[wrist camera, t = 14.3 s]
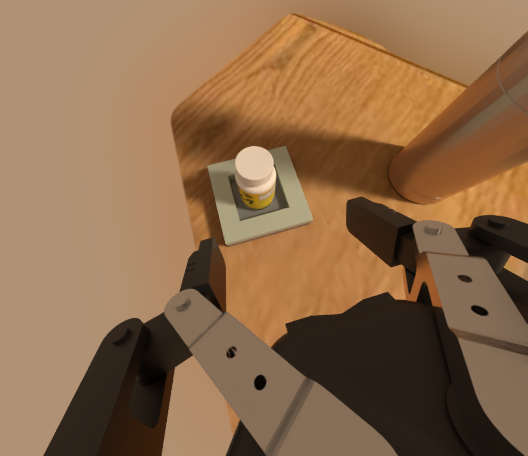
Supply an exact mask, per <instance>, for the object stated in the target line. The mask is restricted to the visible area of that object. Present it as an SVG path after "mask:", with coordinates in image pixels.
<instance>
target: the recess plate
mask: <svg viewBox="0 0 528 456" xmlns="http://www.w3.org/2000/svg"><path fill="white" fill-rule="evenodd" d="M267 151H268V152H269V153H270V154H271V155H272V158H273V163H274V168H275V171H276V184H275V195H274V200H273V202H272V204H271V205H270V206H269V207H268V208H266V209H264V210H261V211H254V210H251V209H249V208H248V207H247V206H245V204H244V203H243V201H242V198H241V195H240V192H239V189H238V186H237V183H236V180H235V171H236V168H235V159H232V160H228V161H224V162H220V163H216V164H212V165H208V166H207V168H208V172H209V176H210V180H211V185H212V189H213V193H214V197H215V201H216V206H217V210H218V214H219V218H220V223H221V227H222V231H223V235H224V240H225V244H226V245H227V246H228V247H230V246H234V245H237V244H241V243H244V242H248V241H251V240H255V239H258V238H262V237H265V236H269V235H272V234H276V233H279V232H283V231H287V230H290V229H294V228H297V227H301V226H304V225H308V224H310V223H311V222H312V220H313V217H312V214H311V212H310V209H309V206H308V204H307V201H306V198H305V196H304V193H303V190H302V188H301V185H300V182H299V180H298V177H297V174H296V172H295V169H294V166H293V164H292V161H291V158H290V156H289V153H288V150H287V148H286V146H282V147H279V148H275V149H271V150H267Z"/></svg>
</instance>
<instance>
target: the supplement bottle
mask: <svg viewBox="0 0 528 456" xmlns="http://www.w3.org/2000/svg"><path fill="white" fill-rule="evenodd" d="M235 168H236V171H235V180H236V183H237V186H238V189H239V192H240V195H241V198H242V201H243V203H244V204H245V206H247V207H248V208H249V209H251V210H254V211H261V210H264V209H266V208H268V207H269V206H270V205H271V204H272V202H273V200H274V195H275V184H276V171H275V168H274V163H273V158H272V155H271V154H270V153H269V152H268V151H267V150H266V149H264V148H262V147H258V146H251V147H247V148H245V149H243V150H242V151H240V152H239V153H238V155H237V157H236V159H235Z"/></svg>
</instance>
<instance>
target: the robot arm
mask: <svg viewBox="0 0 528 456" xmlns="http://www.w3.org/2000/svg"><path fill="white" fill-rule="evenodd" d="M526 162H528V31H527V32H526V33H525V34H524V35H523V36H522V37H521V38H520V39H519V40H517V42H515V44H513V45H512V46H511V47H510V48H509V49H508V50H507V51H506V52H505V53H504V54H503V55H502V56H501V57H500V58H499V59H498V60H497V61H496V62H494V63H493V64H492V65H491V66H490V67H489V68H488V69H487V70H486V71H485V72H484V73H483V74H482V75H481V76H480V77H479V78H478V79H477V80H475V81H474V82H473V83H472V84H471V85H470V86H469V87H468V88H467V89H466V90H465V91H464V92H463V93H462V94H461V95H460V96H459V97H457V98H456V99H455V100H454V101H453V102H452V103H451V104H450V105H449V106H448V107H447V108H446V109H445V110H444V111H443V112H442V113H441V114H439V115H438V116H437V117H436V118H435V119H434V120H433V121H432V122H431V123H430V124H429V125H428V126H427V127H426V128H425V129H424V130H423V131H422V132H420V133H419V134H418V135H417V136H416V137H415V138H414V139H413V140H412V141H411V142H410V143H409V144H408V145H407V146H406V147H405V148H404V149H403V150H402V151H400V152H399V153H398V154H397V155H396V156H395V157H394V158H393V159H392V161H391V163H390V165H389V171H388V174H389V179H390V181H391V184H392V186H393V187H394V188H395V190H396V191H397V192H398V193H399V194H400V195H401V196H403V197H404V198H406V199H408V200H410V201H412V202H415V203H419V204H433V203H436V202H439V201H441V200H443V199H445V198H448V197H450V196H452V195H454V194H457V193H459V192H461V191H463V190H466V189H468V188H470V187H473V186H475V185H477V184H479V183H482V182H484V181H486V180H488V179H491V178H493V177H495V176H497V175H500V174H502V173H504V172H506V171H508V170H511V169H513V168H515V167H517V166H520V165H522V164H524V163H526ZM346 225H347V229H348V231H349V232H350V233H351V234H352V235H353V236H355V237H356V238H357V239H358V240H359V241H360V242H362V243H363V244H364V245H365V246H366V247H367V248H369V249H370V250H371V251H372V252H373V253H374V254H376V255H377V256H378V257H379V258H380V259H381V260H383V261H384V262H385V263H386V264H387V265H388V266H390V267H394V266H397V265H401V264H402V265H403V270H402V273H403V280H404V287H405V295H406V300H395V299H394V298H393V297H392V296H391V295H390V294H389V293H388V292H386V293H383V294H379V295H376V296H373V297H370V298H367V299H363V300H362V301H360V302H359V303H357V304H356V305H354V306H353V307H351V308H350V309H348V310H347V311H345V312H344V313H342V314H334V315H317V316H309V317H306V318H303V319H299V320H296V321H293V322H290V323H286V324H285V325H286V328H287V333H286V334H284V335H283V336H282V337H280V338H279V339H278V340H277V341H276V342H275V343H274V344H273V346H272V347H271V348H270V347H269V346H268V345H267V344H265V343H264V342H263V341H262V340H261V339H260V338H258V337H257V336H256V335H255V334H254V333H252V332H251V331H250V330H249V329H248V328H246V327H245V326H244V325H243V324H242V323H241V322H239V321H238V320H237V319H236V318H235V317H233V316H232V315H231V314H230V313H228V312H227V311H226V266H225V262H224V258H223V256H222V254H221V251H220V249H219V246H218V244H217V242H216V239H215V238H214V237H213V238H209V239H206V240H202V241H201V242H200V246H199V250H198V251H195V252H193V253H192V255H191V256H190V257H189V259H188V263H187V267H186V270H185V273H184V277H183V281H182V285H181V289H180V292H179V293H178V294H176V295H175V296H173V297H172V298H171V299H170V301H169V302H168V303H167V305H166V307H165V310H164V312H163V313H162V314H160V315H159V316H157V317H155V318H153V319H151V320H149V321H148V322H146V323H143V322H142V321H141V320H140V319H138V318H131V319H128V320H126V321H124V322H122V323H120V324H119V325H117V326H116V327H115V328H113V329H112V330H111V331H110V332H109V333H108V334H107V336H106V337H105V338H104V339H103V341H102V343H101V345H100V346H99V348H98V350H97V352H96V354H95V356H94V358H93V360H92V362H91V364H90V366H89V368H88V370H87V372H86V374H85V376H84V378H83V380H82V382H81V383H80V385H79V388H78V390H77V391H76V393H75V395H74V397H73V399H72V401H71V403H70V405H69V407H68V409H67V411H66V413H65V415H64V417H63V419H62V421H61V422H60V425H59V426H58V428H57V430H56V432H55V434H54V436H53V438H52V440H51V442H50V444H49V446H48V448H47V450H46V452H45V454H44V456H161V455H162V448H163V442H164V435H165V429H166V422H167V416H168V409H169V403H170V396H171V390H172V383H173V377H174V370H175V367H176V366H178V365H179V364H180V363H182V362H184V361H185V360H187V359H188V358H190V357H191V356H193V355H194V357H195V358H196V359H197V360H198V362H199V363H200V365H201V366H202V368H203V369H204V370H205V372H206V373H207V375H208V376H209V377H210V379H211V380H212V381H213V382H214V384H215V385H216V387H217V388H218V389H219V391H220V392H221V394H222V395H223V396H224V398H225V399H226V401H227V402H228V403H229V405H230V406H231V407H232V409H233V410H234V411H235V413H236V414H237V416H238V417H239V418H240V421H239V423H238V426H237V428H236V431H235V433H234V436H233V439H232V441H231V444H230V446H229V449H228V451H227V454H226V456H528V325H527V324H528V281H527V280H524V279H523V278H521V277H519V276H517V275H516V274H514V273H512V272H510V271H508V270H506V269H505V268H503V267H504V266H505V264H506V262H507V261H508V259H509V257H510V256H511V255H512V256H514V257H516V258H518V259H520V260H522V261H524V262H526V263H528V224H526V223H523V222H521V221H518V220H515V219H512V218H508V217H503V216H496V215H483V216H478V217H475V218H474V219H473V222H472V224H471V226H470V227H467V228H453V227H452V226H450V225H448V224H446V223H443V222H439V221H431V220H425V221H419V222H417V221H415V220H413V219H411V218H409V217H407V216H405V215H403V214H401V213H399V212H396V211H395V210H393V209H390V208H389V207H387V206H385V205H383V204H379V203H375V202H372V201H370V200H368V199H366V198H364V197H357V198H354V199H350V200H348V201H347V206H346Z"/></svg>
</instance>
